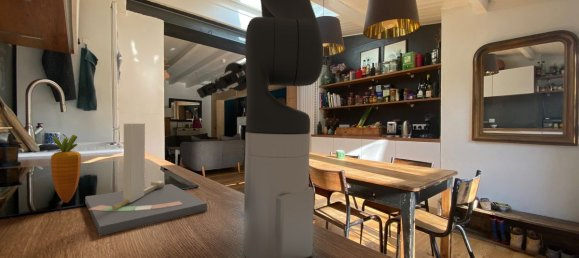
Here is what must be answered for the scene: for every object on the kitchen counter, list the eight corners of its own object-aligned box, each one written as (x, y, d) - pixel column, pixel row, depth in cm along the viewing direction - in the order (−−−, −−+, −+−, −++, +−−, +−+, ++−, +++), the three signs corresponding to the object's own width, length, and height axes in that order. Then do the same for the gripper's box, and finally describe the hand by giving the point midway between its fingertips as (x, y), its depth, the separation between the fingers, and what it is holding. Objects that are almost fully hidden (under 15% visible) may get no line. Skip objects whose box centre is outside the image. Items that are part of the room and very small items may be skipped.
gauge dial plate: (206, 210, 52) (206, 202, 52) (96, 236, 40) (96, 226, 40) (171, 189, 68) (171, 183, 68) (82, 203, 55) (82, 196, 55)
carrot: (44, 206, 53) (44, 135, 52) (64, 199, 58) (64, 134, 57) (68, 206, 53) (68, 135, 52) (86, 199, 58) (86, 134, 57)
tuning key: (122, 209, 47) (122, 123, 46) (105, 209, 47) (105, 123, 46) (166, 185, 65) (166, 123, 64) (154, 185, 65) (155, 123, 64)
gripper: (222, 69, 70) (174, 87, 57) (257, 49, 63) (211, 65, 49) (235, 93, 72) (191, 116, 58) (270, 77, 65) (229, 99, 51)
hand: (200, 93), depth 54 cm, fingers closed
